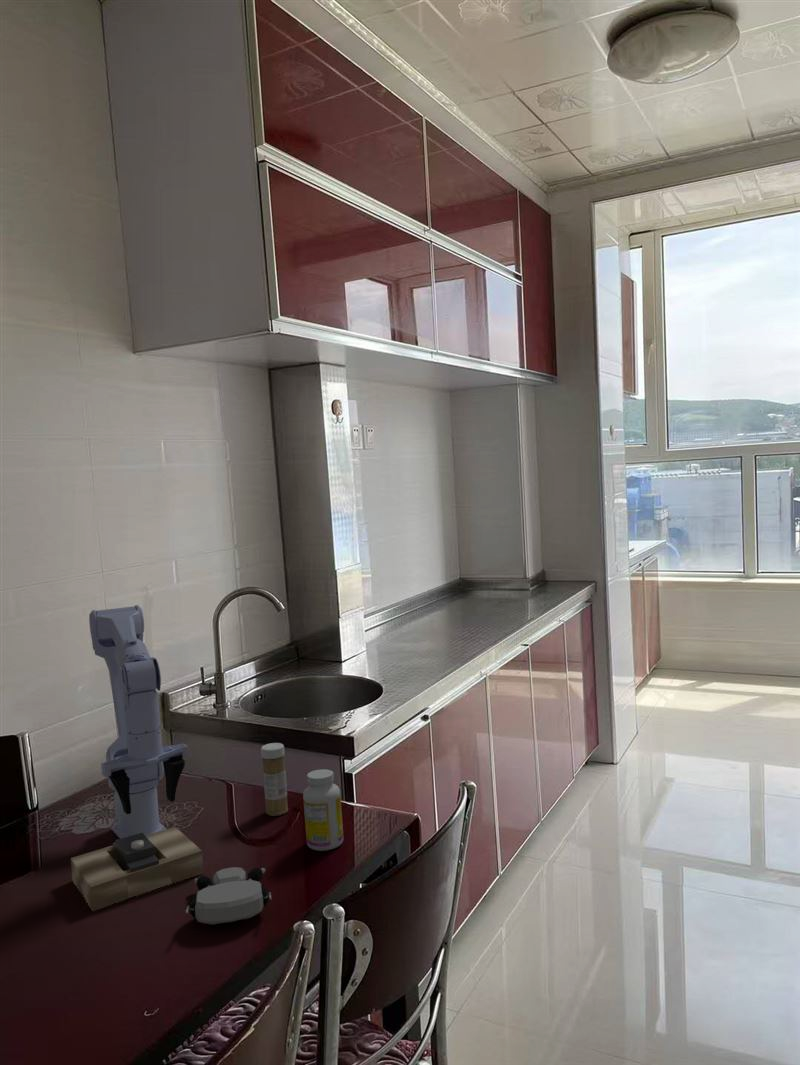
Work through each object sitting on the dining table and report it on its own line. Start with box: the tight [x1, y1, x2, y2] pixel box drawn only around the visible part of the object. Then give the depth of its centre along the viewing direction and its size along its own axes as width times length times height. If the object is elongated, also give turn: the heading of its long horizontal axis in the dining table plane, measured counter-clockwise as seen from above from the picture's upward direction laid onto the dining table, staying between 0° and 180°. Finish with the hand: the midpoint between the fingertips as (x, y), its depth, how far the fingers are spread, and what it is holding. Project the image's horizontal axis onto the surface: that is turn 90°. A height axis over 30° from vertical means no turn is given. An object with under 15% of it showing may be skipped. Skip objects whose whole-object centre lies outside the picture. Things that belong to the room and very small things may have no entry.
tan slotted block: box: [70, 826, 204, 912], centre depth 132 cm, size 13×18×4 cm
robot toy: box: [185, 866, 272, 926], centre depth 121 cm, size 12×4×15 cm
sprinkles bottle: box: [260, 742, 289, 817], centre depth 156 cm, size 5×5×14 cm
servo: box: [112, 832, 159, 872], centre depth 132 cm, size 12×4×7 cm, turn 33°
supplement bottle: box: [302, 768, 344, 852], centre depth 141 cm, size 7×7×13 cm
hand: (149, 806), depth 138 cm, fingers open, 7 cm apart
